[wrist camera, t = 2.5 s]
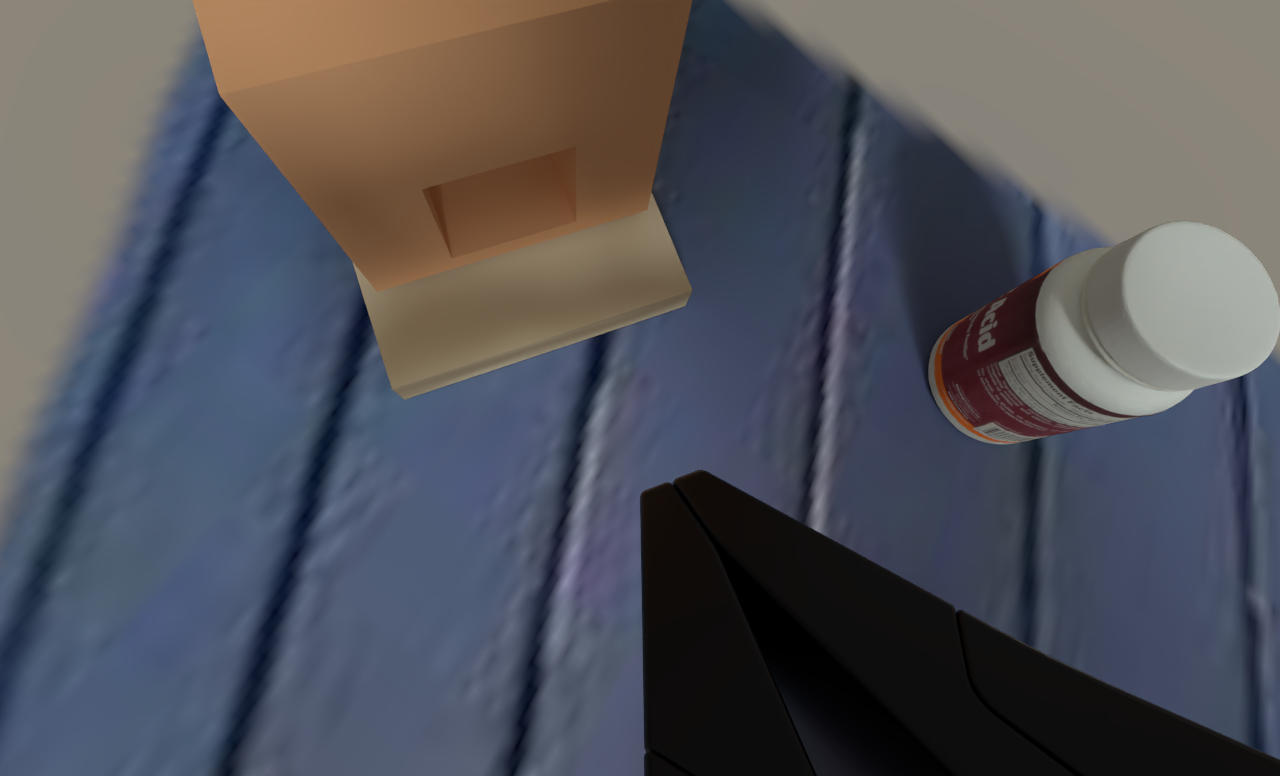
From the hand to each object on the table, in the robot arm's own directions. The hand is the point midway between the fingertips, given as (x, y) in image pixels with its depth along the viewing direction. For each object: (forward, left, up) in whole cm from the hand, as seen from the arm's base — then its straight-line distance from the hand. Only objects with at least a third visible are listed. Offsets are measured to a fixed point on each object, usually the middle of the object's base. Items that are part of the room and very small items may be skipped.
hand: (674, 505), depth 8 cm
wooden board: (+9, -6, -11) cm, 16 cm away
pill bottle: (-8, -12, -13) cm, 20 cm away
